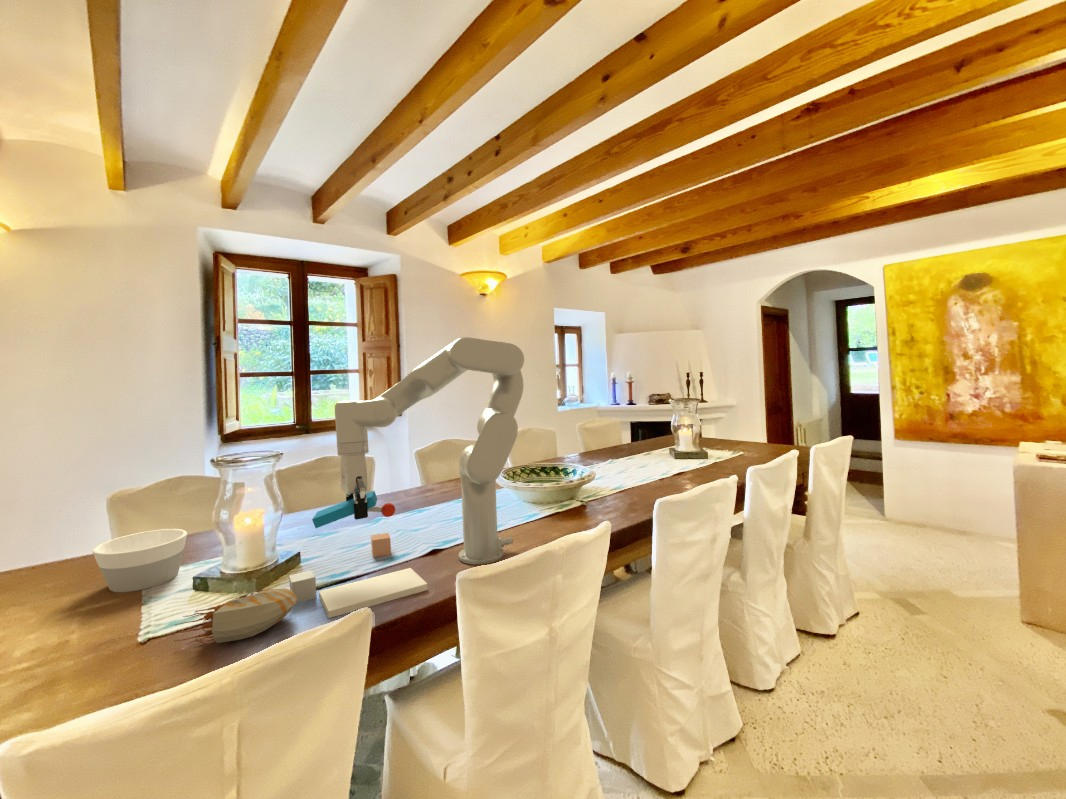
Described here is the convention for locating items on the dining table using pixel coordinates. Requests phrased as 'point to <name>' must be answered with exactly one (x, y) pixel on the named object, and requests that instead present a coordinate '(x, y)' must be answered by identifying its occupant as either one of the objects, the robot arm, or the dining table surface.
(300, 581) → the grey block
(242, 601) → the nautilus
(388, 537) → the terracotta block
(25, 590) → the dining table surface
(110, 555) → the bowl
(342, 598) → the board
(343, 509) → the lever
